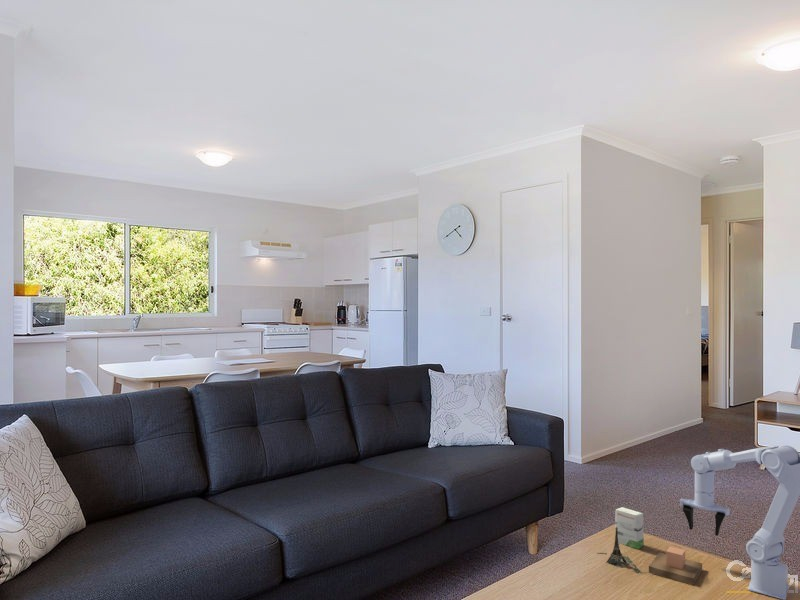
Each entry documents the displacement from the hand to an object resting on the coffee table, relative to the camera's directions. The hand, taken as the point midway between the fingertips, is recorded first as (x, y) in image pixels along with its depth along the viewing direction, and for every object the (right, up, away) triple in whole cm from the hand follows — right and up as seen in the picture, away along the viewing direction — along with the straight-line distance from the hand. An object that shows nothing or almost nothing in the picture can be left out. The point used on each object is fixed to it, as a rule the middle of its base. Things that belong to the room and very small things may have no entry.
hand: (704, 531), depth 191 cm
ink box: (-19, -11, +15) cm, 26 cm away
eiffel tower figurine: (-29, -11, 0) cm, 31 cm away
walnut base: (-12, -10, -6) cm, 17 cm away
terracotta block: (-12, -8, -6) cm, 16 cm away
